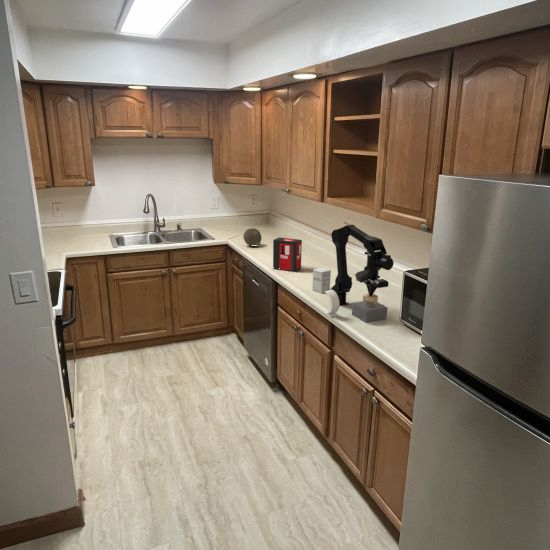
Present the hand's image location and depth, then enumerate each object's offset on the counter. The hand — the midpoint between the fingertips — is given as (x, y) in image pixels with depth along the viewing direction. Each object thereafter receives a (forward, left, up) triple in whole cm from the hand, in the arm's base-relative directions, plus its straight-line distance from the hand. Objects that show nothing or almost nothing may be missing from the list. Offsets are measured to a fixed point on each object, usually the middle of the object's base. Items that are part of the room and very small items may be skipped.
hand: (370, 296), depth 216 cm
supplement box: (-44, -2, -11) cm, 45 cm away
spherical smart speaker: (-161, +1, -11) cm, 162 cm away
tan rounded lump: (0, 0, -6) cm, 6 cm away
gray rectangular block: (0, 0, -11) cm, 11 cm away
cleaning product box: (-92, -1, -11) cm, 93 cm away
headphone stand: (-9, -16, -11) cm, 21 cm away
